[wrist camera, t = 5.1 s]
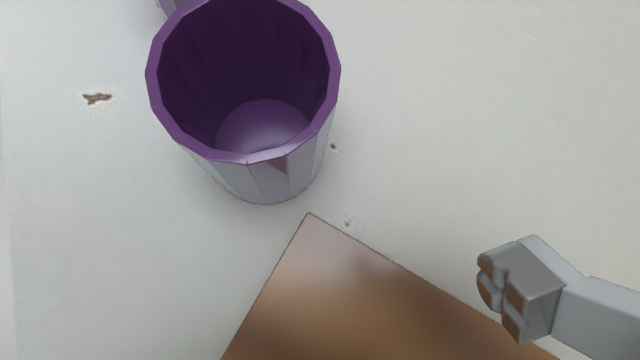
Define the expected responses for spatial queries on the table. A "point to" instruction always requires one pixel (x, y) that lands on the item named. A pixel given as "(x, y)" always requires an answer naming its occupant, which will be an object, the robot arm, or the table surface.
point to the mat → (362, 310)
